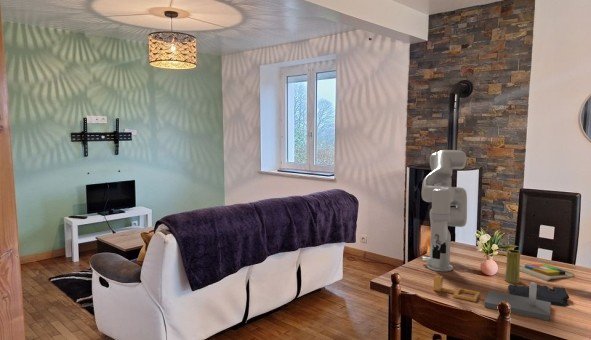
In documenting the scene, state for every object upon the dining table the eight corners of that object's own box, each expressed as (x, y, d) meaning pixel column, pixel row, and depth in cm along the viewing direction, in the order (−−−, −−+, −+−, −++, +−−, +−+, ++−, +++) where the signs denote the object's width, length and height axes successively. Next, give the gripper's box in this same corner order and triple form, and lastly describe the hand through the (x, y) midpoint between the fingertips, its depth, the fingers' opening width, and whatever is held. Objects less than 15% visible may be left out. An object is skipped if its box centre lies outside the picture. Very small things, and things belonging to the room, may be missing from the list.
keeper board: (484, 306, 163) (485, 279, 162) (489, 294, 175) (491, 269, 174) (548, 320, 151) (550, 291, 150) (550, 307, 163) (552, 279, 162)
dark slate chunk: (505, 287, 184) (506, 277, 184) (562, 294, 176) (563, 283, 176) (510, 300, 170) (510, 289, 170) (572, 308, 162) (573, 297, 162)
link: (431, 292, 177) (432, 279, 177) (437, 286, 185) (437, 273, 184) (475, 302, 167) (476, 288, 167) (479, 294, 175) (480, 281, 174)
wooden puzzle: (575, 277, 197) (575, 270, 196) (547, 282, 190) (548, 275, 189) (541, 266, 213) (541, 259, 212) (515, 270, 206) (515, 264, 206)
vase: (521, 284, 187) (523, 253, 186) (506, 283, 188) (508, 252, 187) (517, 279, 193) (518, 249, 191) (503, 278, 194) (504, 248, 193)
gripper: (437, 212, 186) (435, 249, 187) (426, 219, 172) (424, 259, 173) (454, 214, 182) (452, 252, 183) (444, 221, 167) (442, 262, 169)
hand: (439, 255), depth 178 cm, fingers open, 9 cm apart
